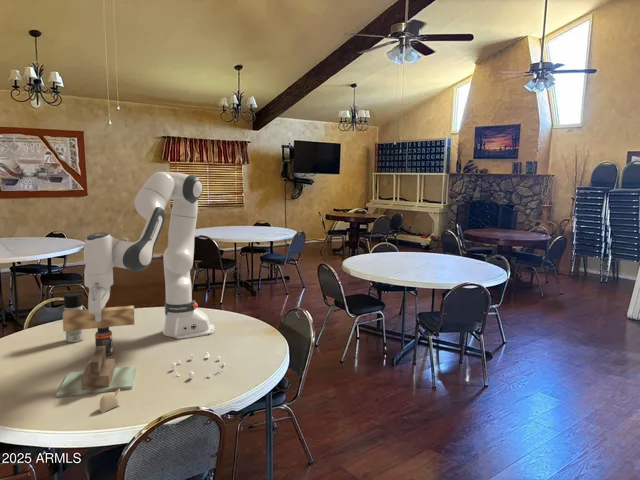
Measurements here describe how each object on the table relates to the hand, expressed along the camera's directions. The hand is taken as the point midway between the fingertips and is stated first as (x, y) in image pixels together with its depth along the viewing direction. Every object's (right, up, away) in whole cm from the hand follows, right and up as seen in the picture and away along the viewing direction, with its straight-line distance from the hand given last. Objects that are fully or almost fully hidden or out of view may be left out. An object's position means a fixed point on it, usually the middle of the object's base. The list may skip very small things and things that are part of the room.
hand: (99, 318), depth 153 cm
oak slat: (0, -3, 0) cm, 3 cm away
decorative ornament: (+13, -23, -20) cm, 34 cm away
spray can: (-27, -15, +32) cm, 45 cm away
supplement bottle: (-8, -17, +19) cm, 27 cm away
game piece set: (+32, -20, +9) cm, 39 cm away
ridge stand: (+2, -21, -4) cm, 21 cm away
